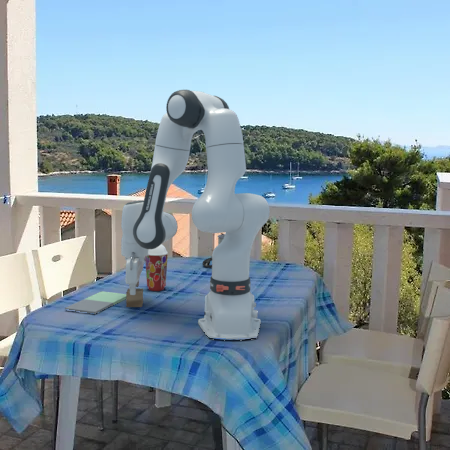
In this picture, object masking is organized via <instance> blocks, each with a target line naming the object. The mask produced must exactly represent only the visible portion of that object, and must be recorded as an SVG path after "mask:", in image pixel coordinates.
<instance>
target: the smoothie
mask: <svg viewBox="0 0 450 450" xmlns="http://www.w3.org/2000/svg"><path fill="white" fill-rule="evenodd" d="M168 255H169V252H168V251H167V249H166V247H165V245H164V244H163V243H162V244H161V245H160V246H158V247H157V248H155V249H148V255H147V256H145V259H144V263H145V276H146V286H147V289H148V290H149V291H151V292H160V291H163V290H165V287H166V285H167V272H168V271H167V270H168V257H169V256H168Z"/></svg>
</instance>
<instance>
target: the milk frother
mask: <svg viewBox="0 0 450 450" xmlns="http://www.w3.org/2000/svg"><path fill="white" fill-rule="evenodd" d="M225 234H226V233H225ZM225 234H223V233H222V234H218V235H217V240H218V241H217V246H218V245H219V244H220V243H221V242H222V240H223V238H224V236H225ZM211 262H212V257H208V258H206V259H204V260H203V261H202V266H203V267H205V268H207V269H208V268H209V269H212V264H211Z"/></svg>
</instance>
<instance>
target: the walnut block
mask: <svg viewBox="0 0 450 450" xmlns="http://www.w3.org/2000/svg"><path fill="white" fill-rule="evenodd" d="M125 294H126V299H125V300H126V301H125V302H126V305H125V306H126V308H142V307H143V305H144V304H143V303H144V288H138V287H136V294H135V295H130V288H127V290H126V292H125Z"/></svg>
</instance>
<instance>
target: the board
mask: <svg viewBox="0 0 450 450" xmlns="http://www.w3.org/2000/svg"><path fill="white" fill-rule="evenodd" d="M125 300H126V293H119V292H111V291H110V292H109V291H99V292H97V293H95V294H92V295H91V296H88V297H86V298H83V299H81V300H80V301H77V302H75V303H73V304H71V305H69V306H66V307H65V308H64V310H65V309H69V310H75V311H80V312H87V313H94V314H96V313H98V312H100V311H102V310H104V309H106V308H108V307H110V306H112V307H114V306H115V304H116V305H118V304H119V303H121V302H123V301H125ZM117 303H118V304H117ZM113 305H114V306H113ZM110 308H111V307H110ZM108 309H109V308H108ZM106 310H107V309H106ZM104 311H105V310H104ZM102 312H103V311H102ZM100 313H101V312H100ZM98 314H99V313H98ZM96 315H97V314H96Z"/></svg>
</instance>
